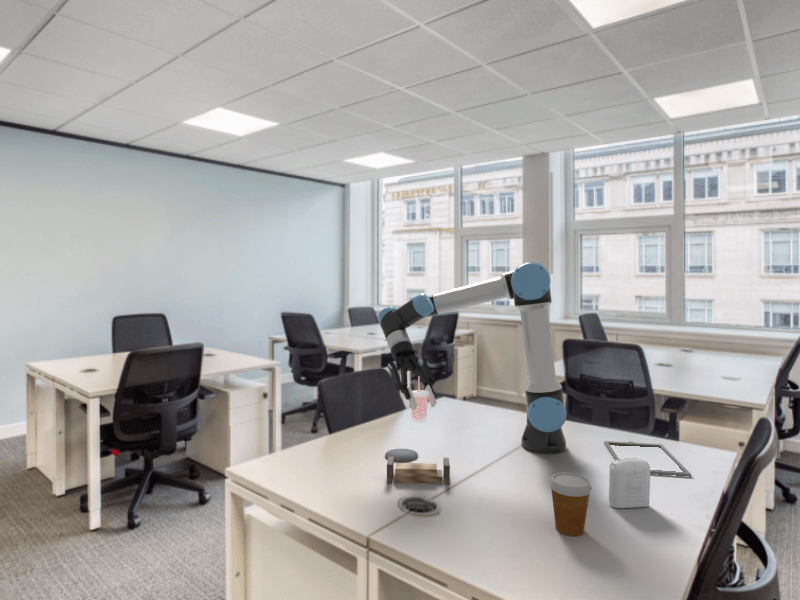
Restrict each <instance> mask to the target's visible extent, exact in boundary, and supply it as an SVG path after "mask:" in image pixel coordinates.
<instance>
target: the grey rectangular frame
mask: <svg viewBox="0 0 800 600" xmlns="http://www.w3.org/2000/svg"><path fill="white" fill-rule="evenodd" d="M603 444H604V446H605V448H606V449H607V451H608V450H609V451H608V452H609V454H610V453H611V454H610V455H611V457H612V456H613V457H612V458H613V460H614V459H615V460H614V461H616V460H620V459H619V458H618V457H617V455H616V454H615V452H614V451H613V449H612V448H611V446H610V445H615V446H617V445H618V446H640V447H659V448H661V449H662V450H663V451H664V452H665V453H666V454H667V455H668V456H669V457H670V458H671V459H672V460H673V461H674V462H675V463H676V464H677V465H678V466H679V468H680V469H681V470H682V471H683V472H676V471H662V470H650V474H658V475H657V476H661V475H676V476H689V477H691V478H692V473H691V472H690V471H689V470H688V469H687V468H686V467H685V466H684V465H683V464H682V463H681V462H680V461H679V460H678V459H677V458H676V457H675V456H674V455H673V454H672V453H671V452H670V451H669V450H668V449H667V448H666V447H665V446H664V445H663V444H662V443H646V442H645V443H644V442H634V441H615V440H614V441H613V440H611V441H609V440H603ZM689 477H688V478H689Z"/></svg>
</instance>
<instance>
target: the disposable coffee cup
mask: <svg viewBox="0 0 800 600" xmlns="http://www.w3.org/2000/svg"><path fill="white" fill-rule="evenodd" d="M548 483H549V486H550V490H551V497H552V507H553V516H554V517H553V518H554V524H555V525H554V526H555V529H556V531H558V532H559V533H561V534H562V535H566V536H568V537H569V536H570V537H579V536H582V535H583V534H584V533H585V525H586V519H587V512H588V506H589V499H590V493H591V491H592V489H593V486H592V485H591V482H590V480H589V479H588V478H587V477H586V476H584V475H582V474H578V473H574V472H556V473H554V474H552V475H551V476H550V480H549V482H548Z"/></svg>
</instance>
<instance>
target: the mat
mask: <svg viewBox="0 0 800 600" xmlns="http://www.w3.org/2000/svg"><path fill="white" fill-rule="evenodd" d="M384 457H385V459H386V458H387V460H388V457H394V463H395V462H396V463H410V462H412V461H414V460H415V461H416V459H418V458H419V454H418V452H417V451H415V450H413V449H409V448H393V449H389V450H387V451H386V452H385V453H384Z"/></svg>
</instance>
